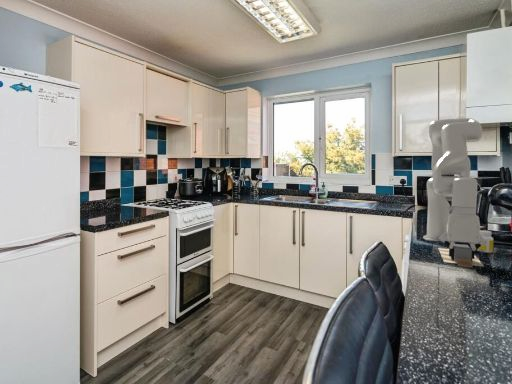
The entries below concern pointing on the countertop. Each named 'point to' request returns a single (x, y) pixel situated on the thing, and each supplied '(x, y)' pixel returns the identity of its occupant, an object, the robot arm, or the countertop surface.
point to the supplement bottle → (489, 245)
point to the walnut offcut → (464, 263)
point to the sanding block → (462, 252)
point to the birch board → (448, 259)
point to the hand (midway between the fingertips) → (461, 259)
